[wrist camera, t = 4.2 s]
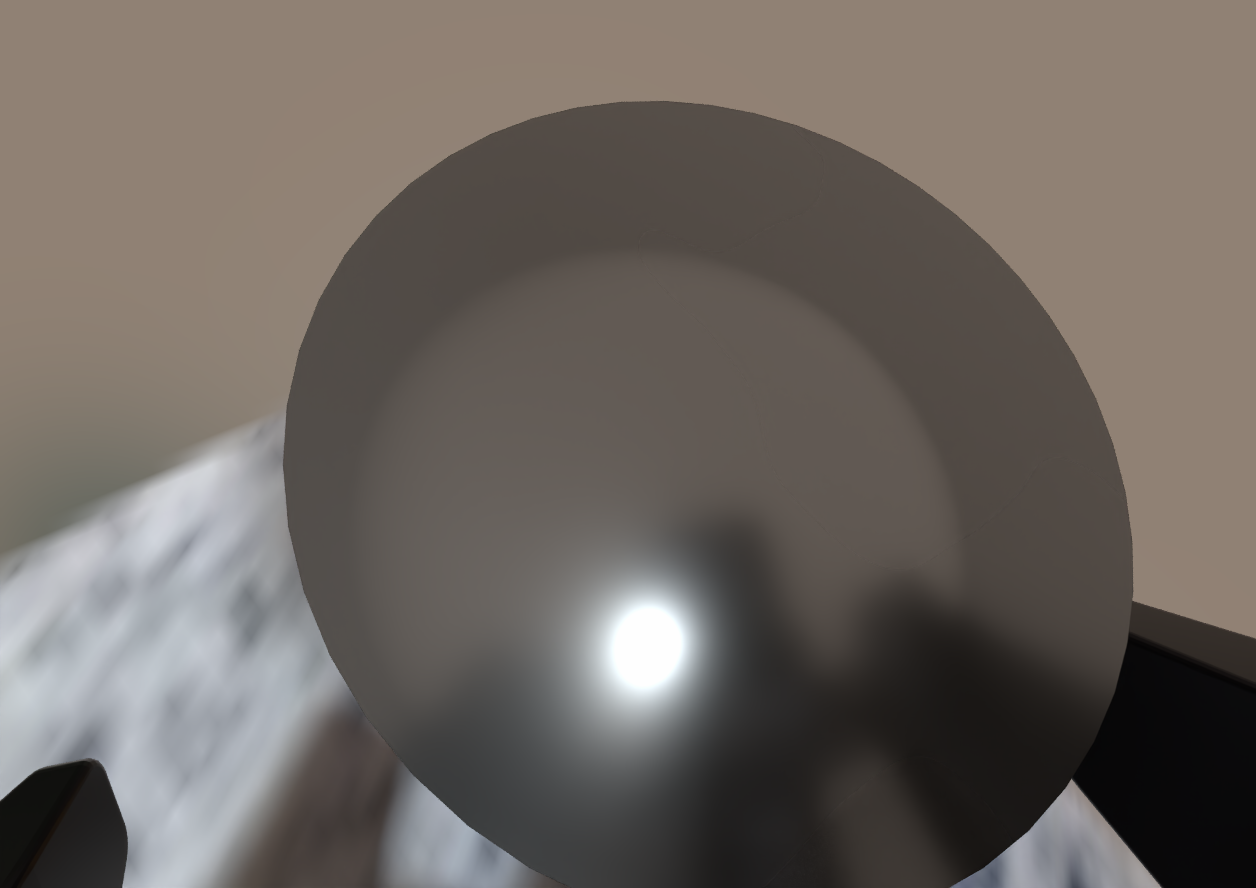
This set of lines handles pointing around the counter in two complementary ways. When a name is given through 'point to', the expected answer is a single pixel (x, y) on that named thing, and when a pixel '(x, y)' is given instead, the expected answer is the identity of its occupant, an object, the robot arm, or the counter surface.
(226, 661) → the counter surface
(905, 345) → the sleeve
